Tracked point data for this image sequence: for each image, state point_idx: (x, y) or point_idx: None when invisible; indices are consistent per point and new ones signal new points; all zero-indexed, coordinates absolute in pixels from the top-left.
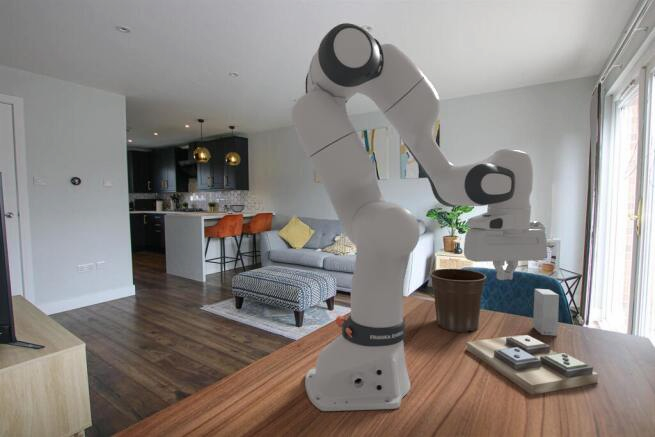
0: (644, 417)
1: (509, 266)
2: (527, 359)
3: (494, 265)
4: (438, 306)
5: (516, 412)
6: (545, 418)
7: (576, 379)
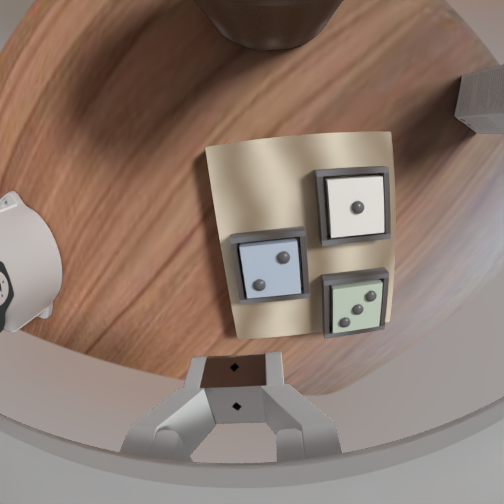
0: (353, 379)
1: (289, 428)
2: (278, 294)
3: (143, 426)
4: None
5: (187, 355)
6: None
7: None
